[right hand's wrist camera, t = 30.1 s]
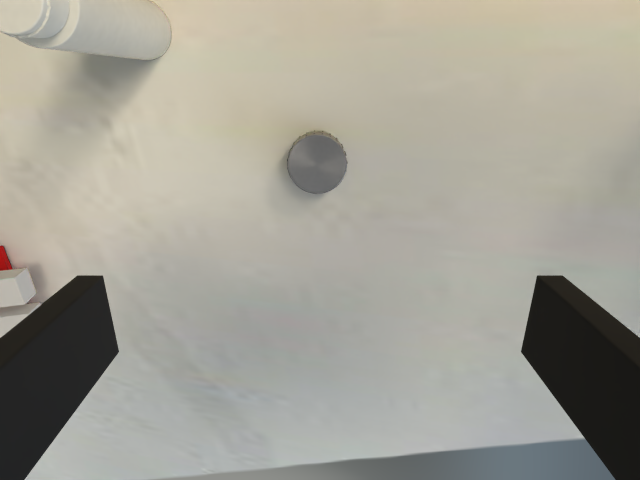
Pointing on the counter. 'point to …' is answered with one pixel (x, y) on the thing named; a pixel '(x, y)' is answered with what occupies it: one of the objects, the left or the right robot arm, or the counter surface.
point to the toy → (14, 294)
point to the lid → (317, 162)
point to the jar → (89, 26)
